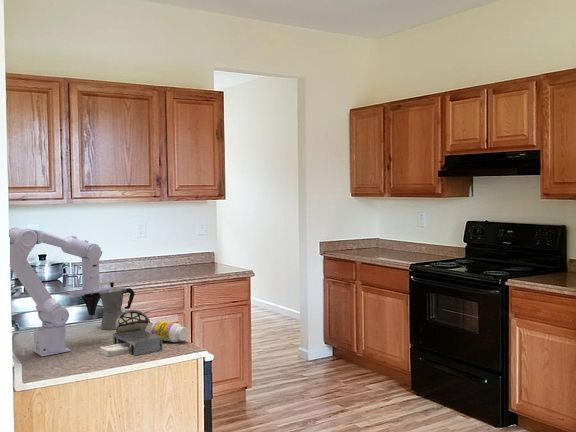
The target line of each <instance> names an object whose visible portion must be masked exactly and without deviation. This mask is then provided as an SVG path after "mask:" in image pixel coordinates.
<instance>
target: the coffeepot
mask: <svg viewBox="0 0 576 432" xmlns="http://www.w3.org/2000/svg"><path fill="white" fill-rule="evenodd" d="M114 284H115V282H113V281H112V282H110V283H109V287H112V292H111V293H101V294H99V295H101V298H100V300H101V302H102V303H101V304H102V308H103V312H102V318H101V324H100V327H101V328H100V329H101V330H103V331H117V328H116V325H115V324H116V320H117V319H118V317H119V316H120V315H121V314H122V313H123V310H122V307H123V301H124V300H123V299H124V294H129V298H128V301H127V306H124V309H125V310H129V309H130V308H131V306H132V303H133V301H134V297H135V291H134V290H133V289H132V288H131V287H130V288H129V287H128V288H123V287H119V286H115V285H114Z"/></svg>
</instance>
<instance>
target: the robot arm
mask: <svg viewBox="0 0 576 432" xmlns="http://www.w3.org/2000/svg"><path fill="white" fill-rule="evenodd" d="M8 230H9V237H10V266H11V268H10V269H11V270H12V272H13V273H14V275H15V276H16V278H17V279H18V280H19V282H20V283H21V285H22V286H23V288H24V289H25V290H26V292H27V293H28V295H29V296H30V298H32V300H33V302H34V303H35V310H37V317H38V318H39V320H40V321H41V326H40V327H36V328H35V329H34V334H33V339H34V342H33V344H34V350H33V352H34V353H35V354H37V355H38V356H40V357H46V356H51V355H57V354H62V353H65V352H67V353H68V352H71V348H68V347H66V346H67V343H66V342H67V341H66V337H67V335H66V323H67V322H68V321H69V317H70V313H69V310H68V309H67V308H66V307H64V306H62V305H61V303H60V302H59V301H57V300H56V299H55V298H54V297H52V295H51V293H50V291H48V289H47V287H46V286H45V285H44V284H43V282H42V281H41V279H40V278H39V276H38V275H37V273H36V272H35V270H34V268H33V267H32V266H31V264H30V263H29V261H28V257H29V255H30V253H31V252H32V250H33V249H34V247H35V245H41V244H46V245H50V246H54V247H57V248H60V250H62V251H61V252H63V253H64V254H68V255H70V256H71V255H72V256H75V257H78V258H80V259H81V274H82V275H81V276H82V280H81V281H82V284H81V285H82V288H80V289H77V290H72V291H69V297H70V298H71V299H73V298H76V297H81V299H82V300H83V302H84V304H85V306H86V310H87V313H88V316H90V317H91V316H95V315H96V310H97V307H98V303H99V301H100V300H101V295H99V294H101V293H111V292H112V287H111V286H100V259H101V257H102V255H103V251H102V249H101V246H100V245H99V244H97V243H90V242H89V240H87V239H86V240H85V239H83V240H82V239H79V238H78V237H77V236H76V235H71V236H66V237H65V238H64V237H60V236H57V235H54V234H52V233H49V232H46V231H43V230H37V229H31V228H20V227H11V228H10V229H8ZM10 266H9V267H10Z"/></svg>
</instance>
